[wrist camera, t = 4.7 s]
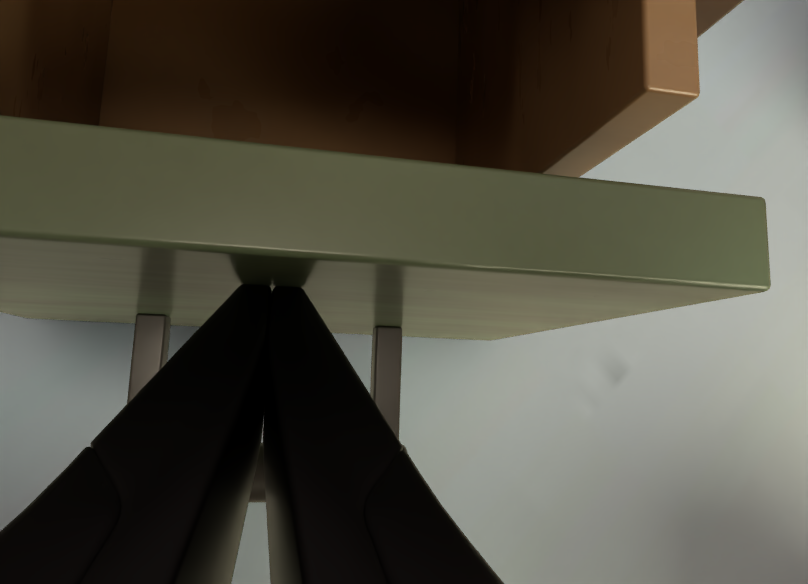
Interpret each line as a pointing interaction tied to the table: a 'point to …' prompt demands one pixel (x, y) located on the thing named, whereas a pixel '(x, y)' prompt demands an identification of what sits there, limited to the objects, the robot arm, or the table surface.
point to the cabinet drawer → (353, 168)
